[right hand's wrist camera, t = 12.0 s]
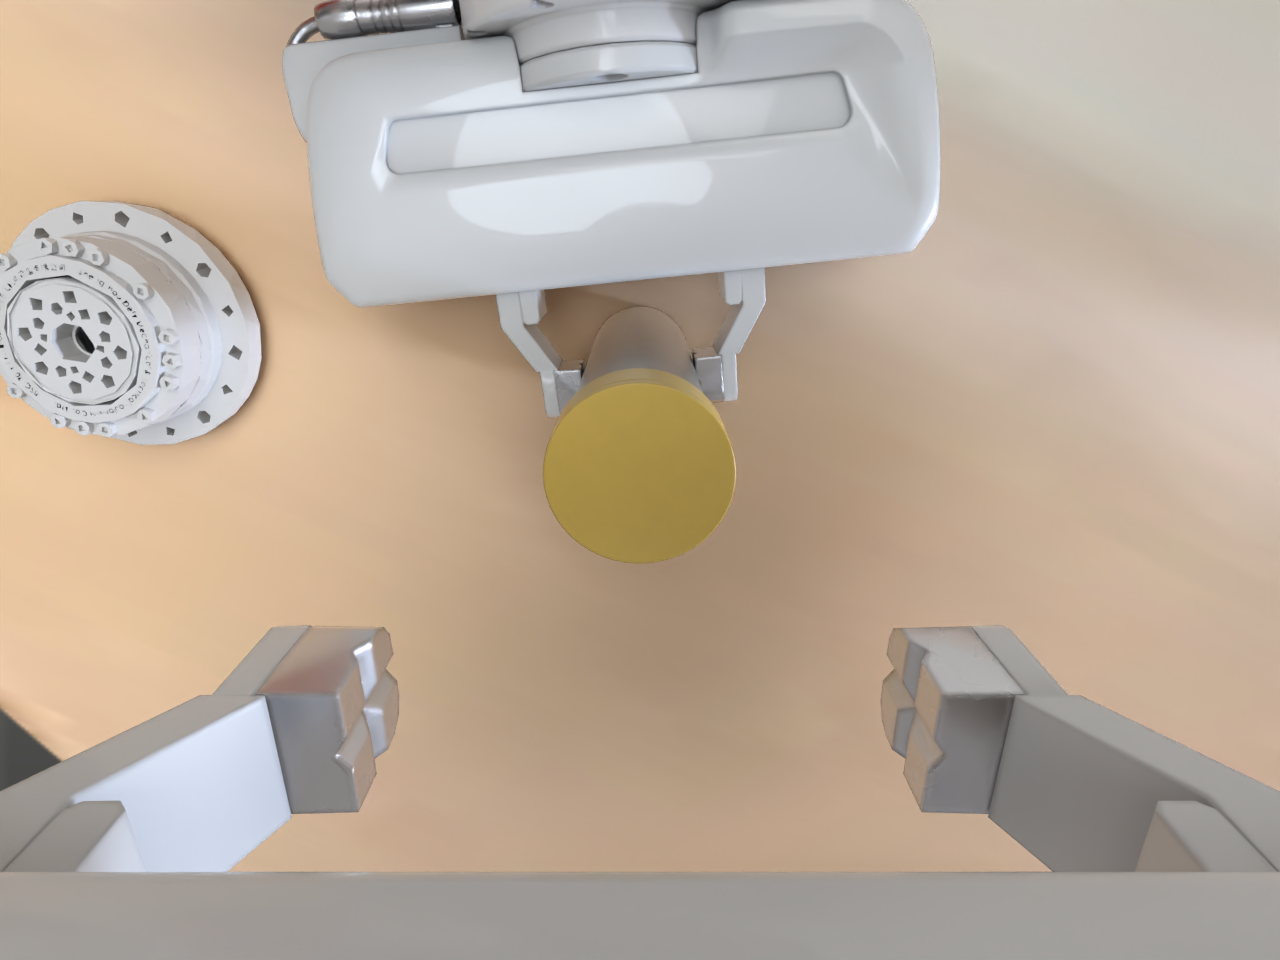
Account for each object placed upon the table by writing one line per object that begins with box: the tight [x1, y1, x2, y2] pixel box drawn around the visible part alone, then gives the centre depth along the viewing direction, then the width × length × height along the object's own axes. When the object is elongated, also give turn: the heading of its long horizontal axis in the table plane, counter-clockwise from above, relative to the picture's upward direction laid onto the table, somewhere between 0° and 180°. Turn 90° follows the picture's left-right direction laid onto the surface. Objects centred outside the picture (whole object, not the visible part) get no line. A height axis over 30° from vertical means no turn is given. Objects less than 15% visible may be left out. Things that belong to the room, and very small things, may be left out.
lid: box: [543, 368, 736, 563], centre depth 18 cm, size 5×5×2 cm
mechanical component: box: [0, 201, 262, 445], centre depth 29 cm, size 10×4×10 cm
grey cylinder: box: [577, 306, 703, 393], centre depth 25 cm, size 4×4×15 cm
